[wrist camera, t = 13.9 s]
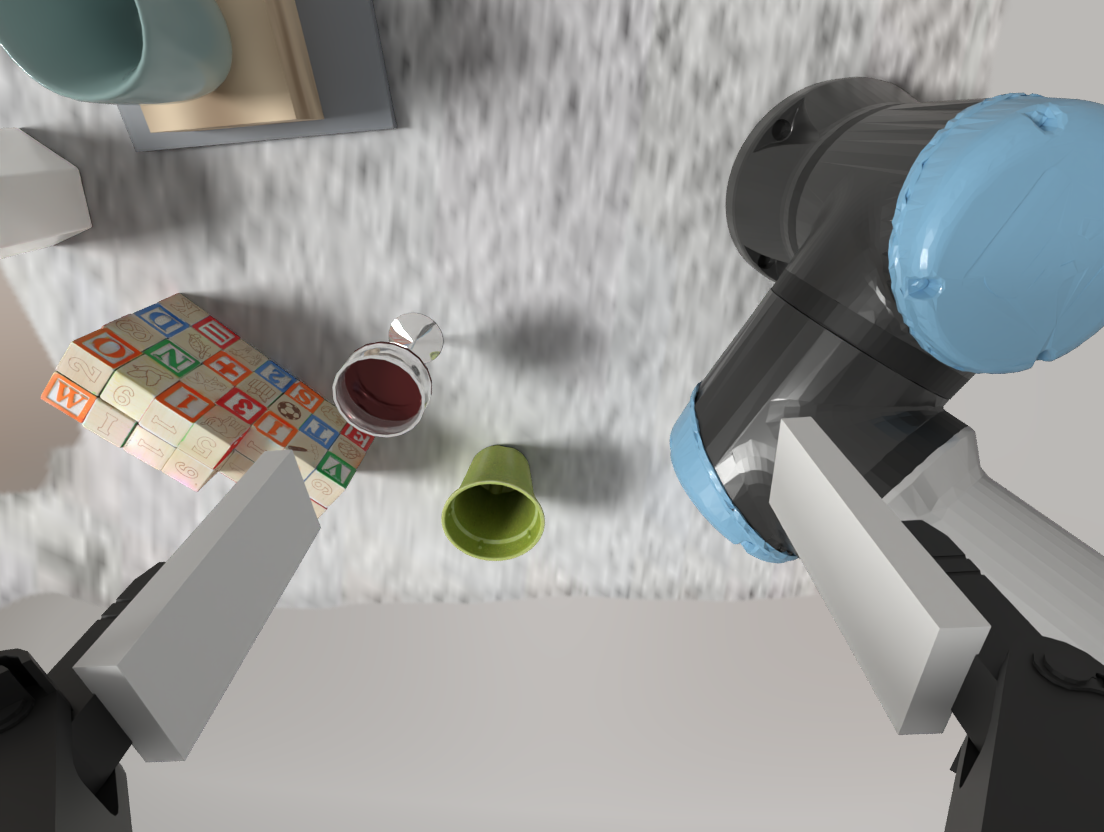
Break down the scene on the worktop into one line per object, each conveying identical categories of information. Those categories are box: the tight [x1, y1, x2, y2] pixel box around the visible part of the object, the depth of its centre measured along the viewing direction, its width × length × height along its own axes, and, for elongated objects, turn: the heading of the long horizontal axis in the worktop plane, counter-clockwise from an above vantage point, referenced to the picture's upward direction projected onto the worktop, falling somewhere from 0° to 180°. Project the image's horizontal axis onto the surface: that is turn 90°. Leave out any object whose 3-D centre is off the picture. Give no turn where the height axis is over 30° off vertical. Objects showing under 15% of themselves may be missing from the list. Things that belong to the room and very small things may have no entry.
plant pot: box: [441, 445, 545, 561], centre depth 53 cm, size 9×9×9 cm
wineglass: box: [332, 313, 443, 437], centre depth 44 cm, size 7×7×12 cm
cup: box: [0, 0, 233, 106], centre depth 29 cm, size 8×8×10 cm
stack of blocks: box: [41, 293, 375, 519], centre depth 47 cm, size 21×6×12 cm, turn 46°
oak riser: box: [140, 0, 324, 133], centre depth 36 cm, size 10×10×5 cm
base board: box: [117, 0, 397, 152], centre depth 38 cm, size 20×12×1 cm, turn 95°
